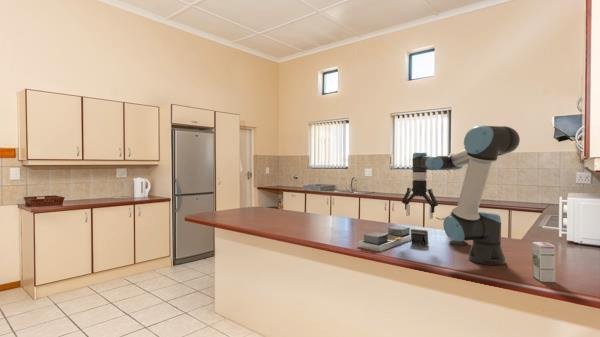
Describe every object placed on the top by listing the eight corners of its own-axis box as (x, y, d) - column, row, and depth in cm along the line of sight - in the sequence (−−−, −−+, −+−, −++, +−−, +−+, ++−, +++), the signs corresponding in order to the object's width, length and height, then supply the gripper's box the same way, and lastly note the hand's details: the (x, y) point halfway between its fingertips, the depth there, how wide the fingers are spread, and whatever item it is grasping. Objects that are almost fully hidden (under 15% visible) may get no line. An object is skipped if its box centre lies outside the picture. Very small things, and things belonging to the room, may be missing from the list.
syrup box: (556, 282, 128) (556, 245, 128) (539, 281, 129) (539, 244, 129) (547, 277, 134) (548, 242, 134) (531, 276, 135) (532, 241, 135)
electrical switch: (428, 245, 187) (428, 229, 186) (426, 248, 182) (426, 232, 182) (411, 243, 192) (411, 227, 191) (409, 246, 188) (409, 230, 187)
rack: (415, 238, 202) (415, 227, 202) (380, 251, 174) (380, 238, 174) (394, 235, 212) (394, 224, 212) (358, 246, 184) (358, 234, 184)
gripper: (444, 180, 180) (444, 218, 181) (402, 178, 198) (402, 213, 198) (438, 181, 175) (438, 220, 175) (396, 179, 192) (395, 215, 193)
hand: (419, 217), depth 187 cm, fingers open, 13 cm apart
